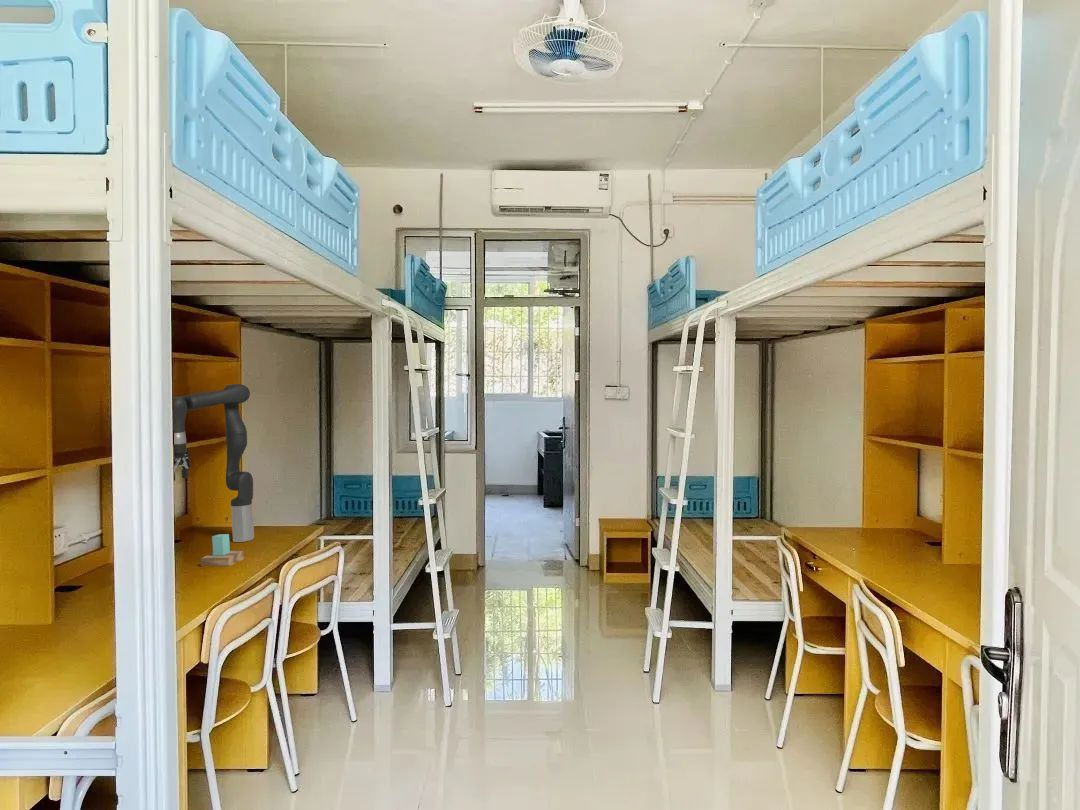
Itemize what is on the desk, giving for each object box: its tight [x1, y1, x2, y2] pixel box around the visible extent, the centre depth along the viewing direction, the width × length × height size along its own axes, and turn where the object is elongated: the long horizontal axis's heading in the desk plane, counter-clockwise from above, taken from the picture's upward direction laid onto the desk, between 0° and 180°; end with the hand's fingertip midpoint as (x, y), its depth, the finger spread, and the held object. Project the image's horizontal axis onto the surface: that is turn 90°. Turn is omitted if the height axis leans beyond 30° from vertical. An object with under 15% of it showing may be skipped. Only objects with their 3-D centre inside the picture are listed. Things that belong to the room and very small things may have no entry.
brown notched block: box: [200, 550, 245, 568], centre depth 280 cm, size 12×12×4 cm
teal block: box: [211, 533, 231, 556], centre depth 279 cm, size 5×5×8 cm
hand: (178, 479), depth 293 cm, fingers open, 8 cm apart
